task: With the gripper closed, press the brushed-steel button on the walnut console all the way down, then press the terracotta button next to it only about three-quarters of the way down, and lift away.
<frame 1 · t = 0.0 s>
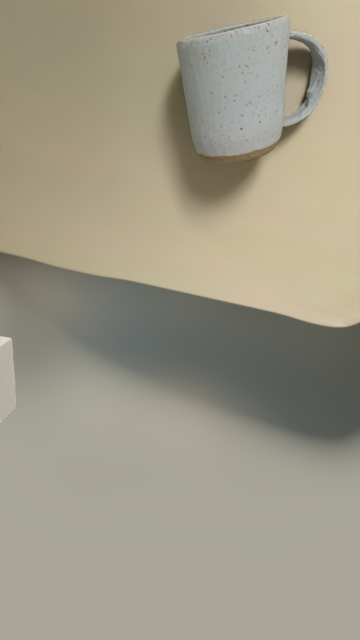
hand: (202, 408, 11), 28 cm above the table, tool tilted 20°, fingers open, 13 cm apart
ceramic mug: (252, 80, 28), on the table
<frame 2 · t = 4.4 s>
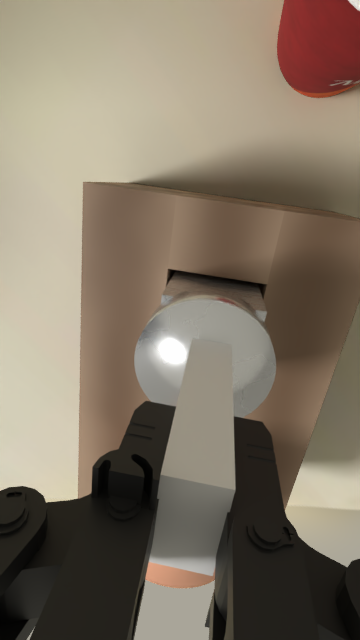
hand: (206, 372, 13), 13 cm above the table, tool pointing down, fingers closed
paper cup: (326, 41, 19), on the table
terracotta button: (180, 487, 20), point 10 cm above the table, slide at 0.0 cm
button console: (203, 341, 27), on the table
grey button: (208, 329, 17), point 9 cm above the table, slide at 0.8 cm, touching gripper
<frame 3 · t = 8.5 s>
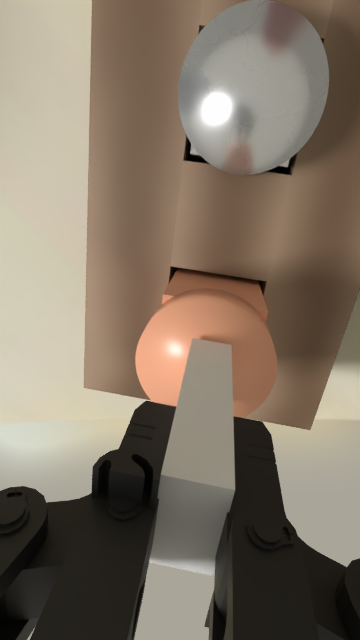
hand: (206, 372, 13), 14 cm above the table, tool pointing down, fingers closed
terracotta button: (208, 329, 17), point 10 cm above the table, slide at 0.3 cm, touching gripper
button console: (226, 211, 24), on the table
grey button: (245, 113, 16), point 6 cm above the table, slide at 3.8 cm
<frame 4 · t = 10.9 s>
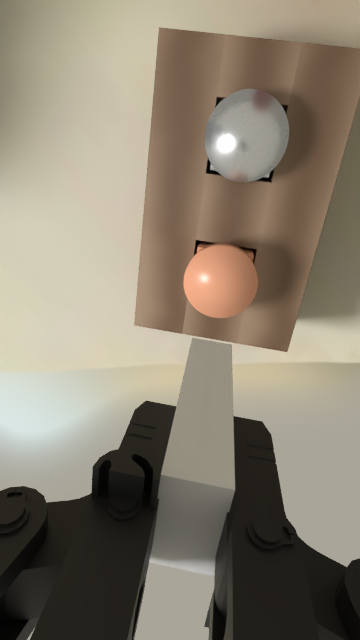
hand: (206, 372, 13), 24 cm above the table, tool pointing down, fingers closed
terracotta button: (221, 271, 29), point 7 cm above the table, slide at 2.7 cm
button console: (231, 206, 34), on the table
grey button: (243, 144, 26), point 6 cm above the table, slide at 3.8 cm
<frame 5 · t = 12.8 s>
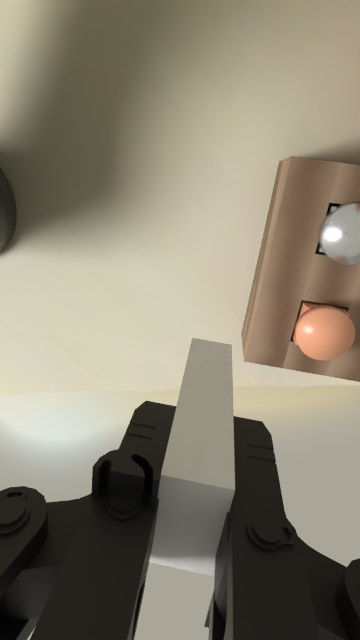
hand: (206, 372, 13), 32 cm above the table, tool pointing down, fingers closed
terracotta button: (316, 322, 38), point 7 cm above the table, slide at 2.7 cm
button console: (314, 264, 42), on the table
grey button: (341, 230, 35), point 6 cm above the table, slide at 3.8 cm
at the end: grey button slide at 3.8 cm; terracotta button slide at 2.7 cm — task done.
